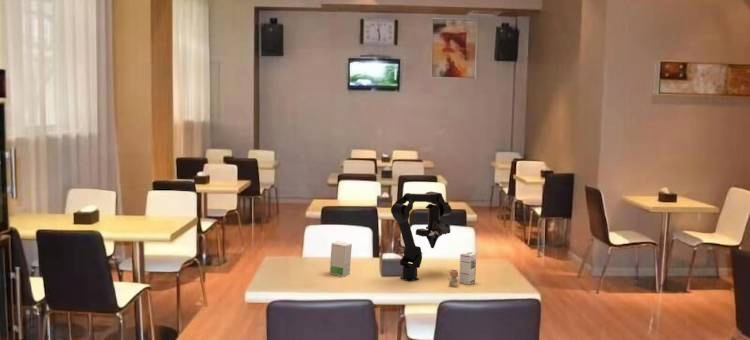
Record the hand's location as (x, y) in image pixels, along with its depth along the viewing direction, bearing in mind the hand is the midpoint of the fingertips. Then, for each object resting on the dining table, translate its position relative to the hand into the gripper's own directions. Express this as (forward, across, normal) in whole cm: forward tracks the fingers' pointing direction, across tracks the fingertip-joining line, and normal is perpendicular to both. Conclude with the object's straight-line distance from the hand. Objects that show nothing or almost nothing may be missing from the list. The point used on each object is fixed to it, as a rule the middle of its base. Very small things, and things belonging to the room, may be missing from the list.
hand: (432, 248), depth 346 cm
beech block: (+13, -6, -22) cm, 26 cm away
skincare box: (+13, -40, +22) cm, 48 cm away
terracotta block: (+13, +4, -12) cm, 18 cm away
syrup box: (+13, +4, -21) cm, 25 cm away
